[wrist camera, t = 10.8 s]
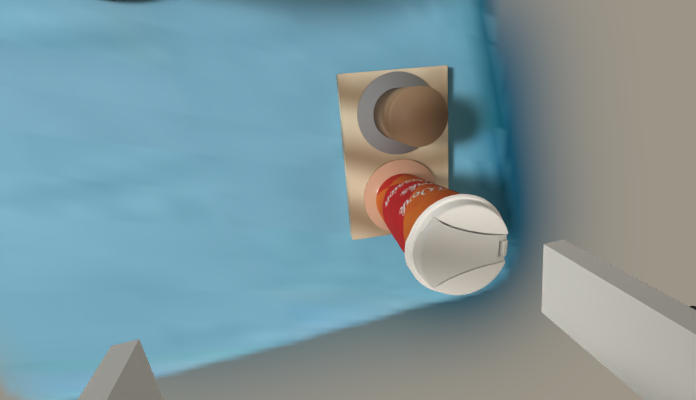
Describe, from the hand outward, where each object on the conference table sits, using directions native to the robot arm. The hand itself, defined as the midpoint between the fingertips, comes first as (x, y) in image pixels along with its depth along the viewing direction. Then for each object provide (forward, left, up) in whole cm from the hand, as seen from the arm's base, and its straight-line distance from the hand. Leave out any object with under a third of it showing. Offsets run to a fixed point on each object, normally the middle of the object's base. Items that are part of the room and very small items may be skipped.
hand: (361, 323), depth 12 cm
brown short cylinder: (-5, +10, -26) cm, 28 cm away
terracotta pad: (+4, +10, -26) cm, 28 cm away
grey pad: (-5, +10, -26) cm, 28 cm away
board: (0, +10, -27) cm, 29 cm away
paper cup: (+4, +10, -26) cm, 28 cm away
